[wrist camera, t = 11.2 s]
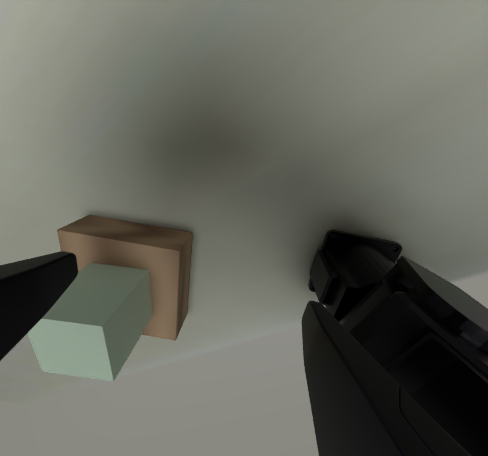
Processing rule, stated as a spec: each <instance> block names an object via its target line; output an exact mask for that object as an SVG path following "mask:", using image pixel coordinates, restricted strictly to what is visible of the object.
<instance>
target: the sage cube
mask: <svg viewBox="0 0 488 456" xmlns="http://www.w3.org/2000/svg"><path fill="white" fill-rule="evenodd" d="M152 316H153V312H152V300H151V288H150V277H149V270H145V269H137V268H129V267H121V266H113V265H105V264H97V263H90V264H89V265H87V266H86V267H85V268H83V269H82V270H81V271H79V272H78V275H77V277H76V279H75V280H74V281H73V282H72V283H71V285H70V286H69V287H68V288H67V290H66V291H65V292H64V293H63V294H62V296H61V297H60V298H59V299H58V301H57V302H56V303H55V304H54V305H53V307H52V308H51V309H50V310H49V311H48V312H47V313H46V315H45V316H44V317H43V318H42V319H41V320H40V321H39V322H38V323H37V324H36V325H35V326H34V327H33V328H32V329H31V330H30V331H29V332H28V336H29V338H30V341H31V343H32V346H33V349H34V351H35V354H36V356H37V359H38V361H39V364H40V367H41V369H42V371H43V372H50V373H57V374H65V375H72V376H79V377H86V378H94V379H101V380H108V381H114V380H115V378H116V376H117V375H118V373H119V371H120V370H121V368H122V366H123V365H124V363H125V361H126V360H127V358H128V356H129V355H130V353H131V351H132V350H133V348H134V346H135V345H136V343H137V341H138V339H139V338H140V336H141V334H142V333H143V331H144V329H145V328H146V326H147V324H148V323H149V321H150V319H151V318H152Z"/></svg>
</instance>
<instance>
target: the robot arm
mask: <svg viewBox="0 0 488 456" xmlns="http://www.w3.org/2000/svg"><path fill="white" fill-rule="evenodd" d="M333 234H335V237H333V238H331V235H333ZM394 247H396V249H394V250H393V248H394ZM401 250H402V246H401V245H400V244H398V243H396V242H392V241H387V240H382V239H377V238H372V237H367V236H362V235H357V234H352V233H347V232H342V231H337V230H330V231H329V232H328V233H327V235H326V237H325V240H324V243H323V246H322V248H321V250H319V251H318V252H317V254H316V257H315V260H314V263H313V266H312V268H311V271H310V276H311V279H310V281H309V285H308V286H309V289H310V290H311V291H313V292H316V294H317V297H318V300H319V302H320V303H319V302H315V301H309V302H308V304H307V306H306V309H305V311H304V314H303V317H302V337H303V355H304V366H305V373H306V379H307V385H308V391H309V397H310V403H311V410H312V415H313V422H314V427H315V434H316V440H317V446H318V452H319V456H488V309H487V308H486V307H484V306H483V305H482V304H480V303H479V302H478V301H476V300H475V299H473V298H472V297H471V296H469V295H468V294H467V293H465V292H464V291H462V290H461V289H460V288H458V287H457V286H455V285H453V284H452V283H450V282H448V281H446V280H445V279H443V278H441V277H439V276H438V275H436V274H434V273H433V272H431V271H429V270H427V269H426V268H424V267H422V266H420V265H419V264H417V263H415V262H414V261H412V260H410V259H408V258H407V257H405V256H403V255H402V256H401V257H400V258H399V259H398V260H397V258H398V256H399V254H400V252H401ZM396 260H397V261H396ZM395 262H397V264H396V263H395ZM77 275H78V265H77V258H76V255H75V254H74V253H70V252H65V251H61V252H57V253H53V254H48V255H44V256H39V257H35V258H31V259H26V260H22V261H18V262H13V263H9V264H5V265H0V361H1V360H2V359H3V358H4V357H5V356H6V354H7V353H8V352H9V351H10V350H11V349H12V348H13V347H14V346H15V345H16V344H17V343H18V342H19V341H20V340H21V339H22V338H23V337H24V336H25V335H26V334H27V333H28V332H29V331H30V330H31V329H32V328H33V327H34V326H35V325H36V324H37V323H38V322H39V321H40V320H41V319H42V318H43V317H44V316H45V315H46V313H47V312H48V311H49V310H50V309H51V308H52V307H53V305H54V304H55V303H56V302H57V301H58V299H59V298H60V297H61V296H62V294H63V293H64V292H65V291H66V290H67V288H68V287H69V286H70V285H71V283H72V282H73V281H74V280H75V279H76V277H77ZM312 286H314V287H312ZM322 304H323V305H325V306H326V308H325V307H324V306H323V305H322Z"/></svg>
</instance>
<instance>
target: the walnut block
mask: <svg viewBox="0 0 488 456" xmlns="http://www.w3.org/2000/svg"><path fill="white" fill-rule="evenodd" d="M57 232H58V237H59V242H60V247H61V251H65V252H70V253H74V254H75V255H76V258H77V265H78V272H79V271H81V270H82V269H83V268H85V267H86V266H87V265H89V264H90V263H97V264H105V265H113V266H121V267H129V268H137V269H145V270H149V277H150V288H151V300H152V312H153V316H152V318H151V319H150V321H149V323H148V324H147V326H146V328H145V329H144V331H143V333H142V335H148V336H153V337H159V338H164V339H170V340H175V341H176V339H177V337H178V334H179V332H180V329H181V327H182V325H183V322H184V320H185V318H186V315H187V311H188V296H189V281H190V266H191V251H192V236H193V233H191V232H185V231H179V230H174V229H168V228H162V227H156V226H150V225H145V224H139V223H133V222H127V221H121V220H115V219H110V218H104V217H98V216H92V215H88V216H86V217H84V218H82V219H79V220H77V221H75V222H73V223H71V224H69V225H67V226H64V227H62V228H60V229H58V230H57Z"/></svg>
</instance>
